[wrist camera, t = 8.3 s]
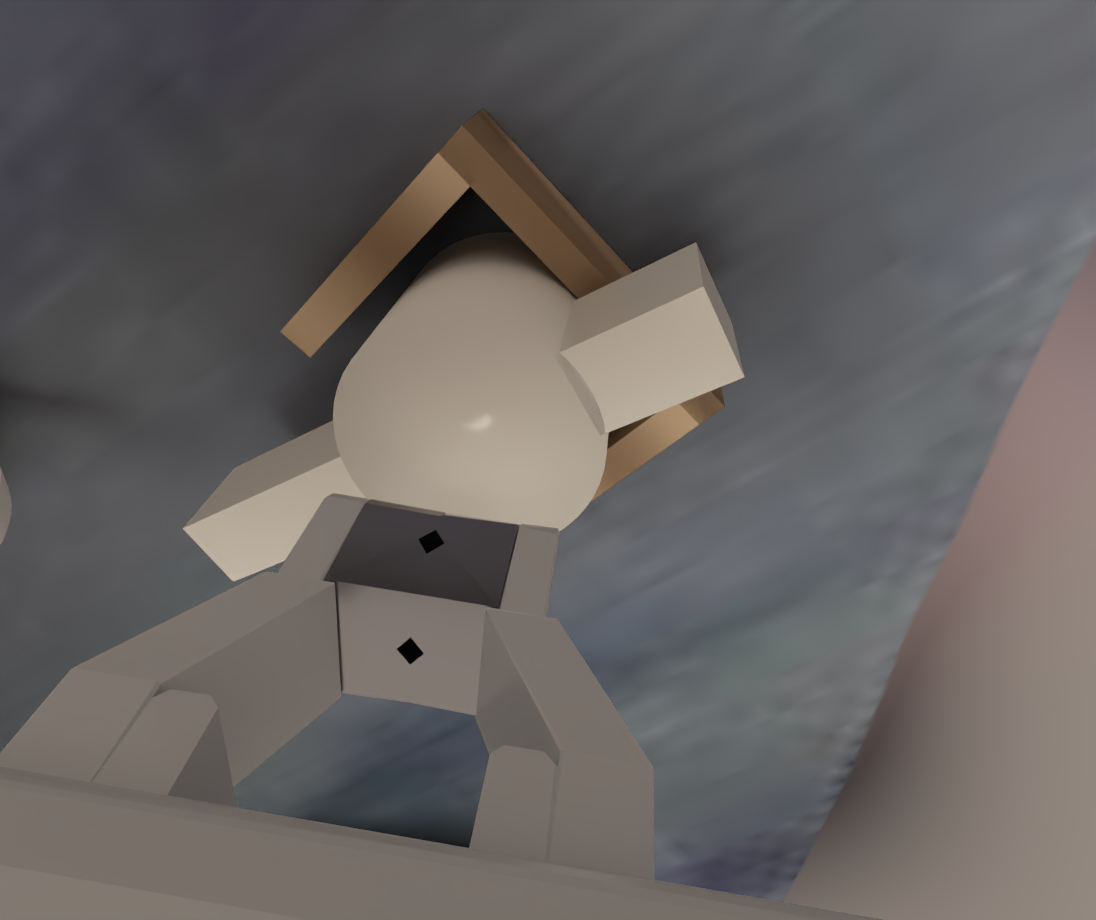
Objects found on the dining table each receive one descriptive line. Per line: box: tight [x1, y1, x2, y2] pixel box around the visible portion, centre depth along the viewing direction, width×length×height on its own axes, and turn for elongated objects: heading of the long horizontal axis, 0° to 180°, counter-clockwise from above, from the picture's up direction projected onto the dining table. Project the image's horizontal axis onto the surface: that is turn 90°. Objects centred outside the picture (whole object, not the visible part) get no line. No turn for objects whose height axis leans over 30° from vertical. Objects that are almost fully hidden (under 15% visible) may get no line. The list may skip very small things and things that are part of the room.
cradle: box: [280, 109, 725, 502], centre depth 25 cm, size 9×11×3 cm
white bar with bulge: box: [183, 233, 744, 582], centre depth 24 cm, size 8×17×7 cm, turn 119°
